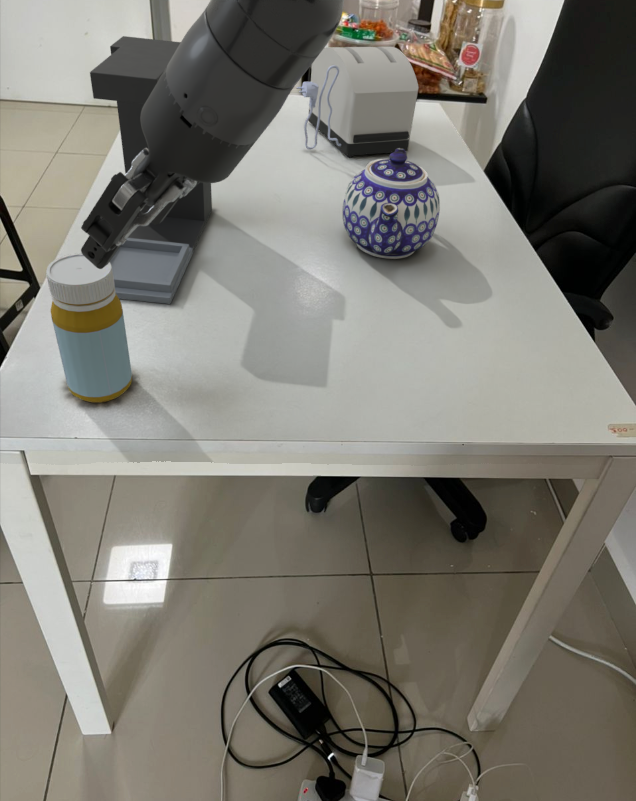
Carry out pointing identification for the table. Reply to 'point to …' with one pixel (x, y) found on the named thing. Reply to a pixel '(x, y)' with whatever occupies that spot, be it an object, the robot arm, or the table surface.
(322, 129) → the toaster
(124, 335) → the bottle
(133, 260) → the coffee maker
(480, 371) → the table surface
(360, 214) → the teapot
